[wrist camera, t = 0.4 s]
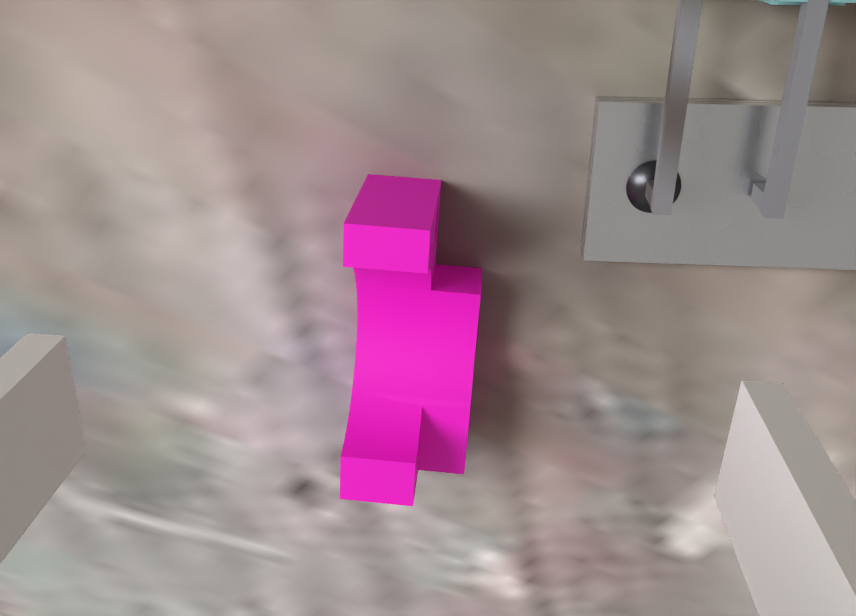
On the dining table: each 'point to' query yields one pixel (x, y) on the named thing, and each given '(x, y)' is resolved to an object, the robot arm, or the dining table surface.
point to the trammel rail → (675, 107)
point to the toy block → (406, 343)
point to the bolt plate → (721, 186)
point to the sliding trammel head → (792, 105)
